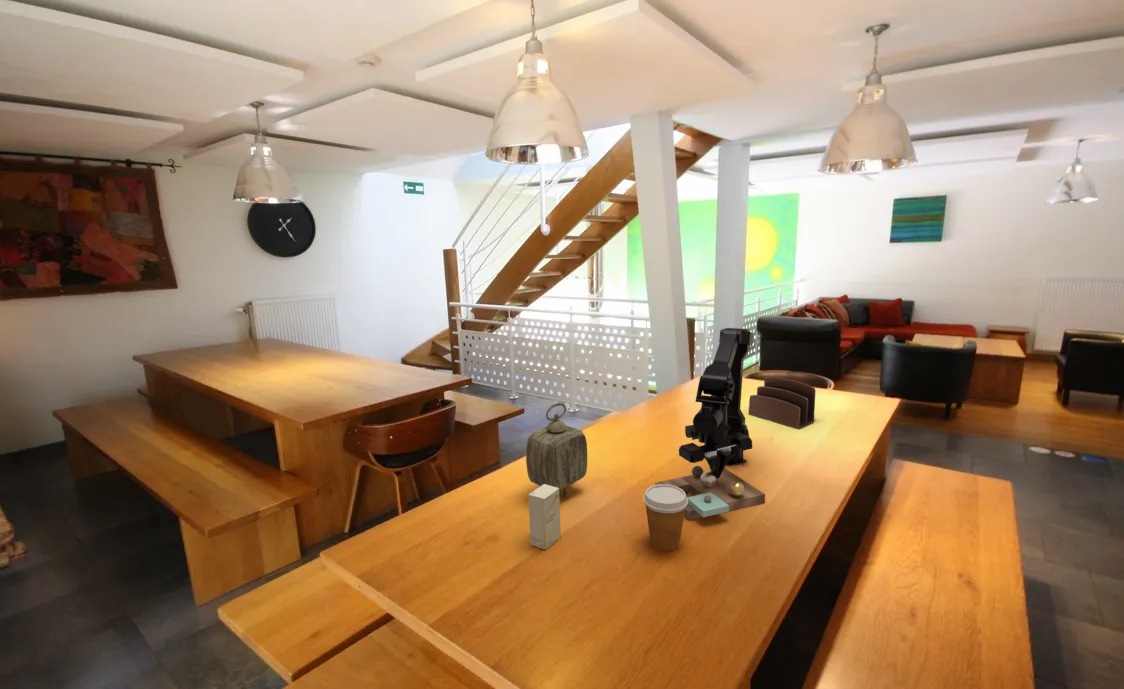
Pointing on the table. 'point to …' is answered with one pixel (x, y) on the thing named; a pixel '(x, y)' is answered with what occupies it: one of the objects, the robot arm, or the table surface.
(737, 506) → the board
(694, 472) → the matte grey ball
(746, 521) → the table surface
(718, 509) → the cover
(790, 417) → the letter holder
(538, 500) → the skincare box
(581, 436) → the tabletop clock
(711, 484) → the steel ball
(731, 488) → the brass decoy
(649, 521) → the disposable coffee cup
